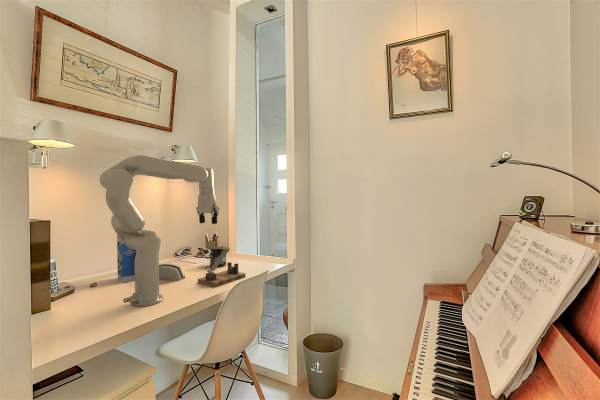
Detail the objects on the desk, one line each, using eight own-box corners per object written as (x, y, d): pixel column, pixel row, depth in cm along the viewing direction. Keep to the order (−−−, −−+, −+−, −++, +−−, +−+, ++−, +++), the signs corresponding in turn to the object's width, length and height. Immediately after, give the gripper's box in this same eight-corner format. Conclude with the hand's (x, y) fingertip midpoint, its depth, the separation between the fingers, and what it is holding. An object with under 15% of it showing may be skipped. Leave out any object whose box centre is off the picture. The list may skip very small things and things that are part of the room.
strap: (212, 273, 155) (211, 272, 154) (207, 272, 157) (206, 270, 156) (230, 249, 166) (229, 247, 165) (225, 248, 168) (224, 247, 167)
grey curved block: (186, 277, 168) (182, 262, 164) (181, 282, 163) (177, 267, 160) (160, 276, 171) (156, 261, 167) (155, 281, 166) (150, 266, 163)
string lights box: (117, 278, 167) (116, 233, 167) (132, 275, 172) (131, 232, 172) (122, 283, 157) (121, 235, 157) (137, 280, 162) (137, 234, 162)
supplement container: (213, 263, 201) (212, 246, 201) (228, 263, 201) (228, 246, 200) (207, 267, 191) (207, 249, 190) (223, 267, 190) (223, 249, 190)
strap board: (215, 287, 150) (215, 272, 150) (197, 282, 158) (197, 268, 158) (245, 276, 169) (245, 263, 169) (228, 273, 176) (228, 260, 176)
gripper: (190, 192, 157) (192, 223, 158) (212, 191, 148) (213, 225, 149) (201, 191, 164) (203, 221, 165) (223, 191, 154) (225, 223, 155)
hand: (208, 223), depth 157 cm, fingers open, 9 cm apart
